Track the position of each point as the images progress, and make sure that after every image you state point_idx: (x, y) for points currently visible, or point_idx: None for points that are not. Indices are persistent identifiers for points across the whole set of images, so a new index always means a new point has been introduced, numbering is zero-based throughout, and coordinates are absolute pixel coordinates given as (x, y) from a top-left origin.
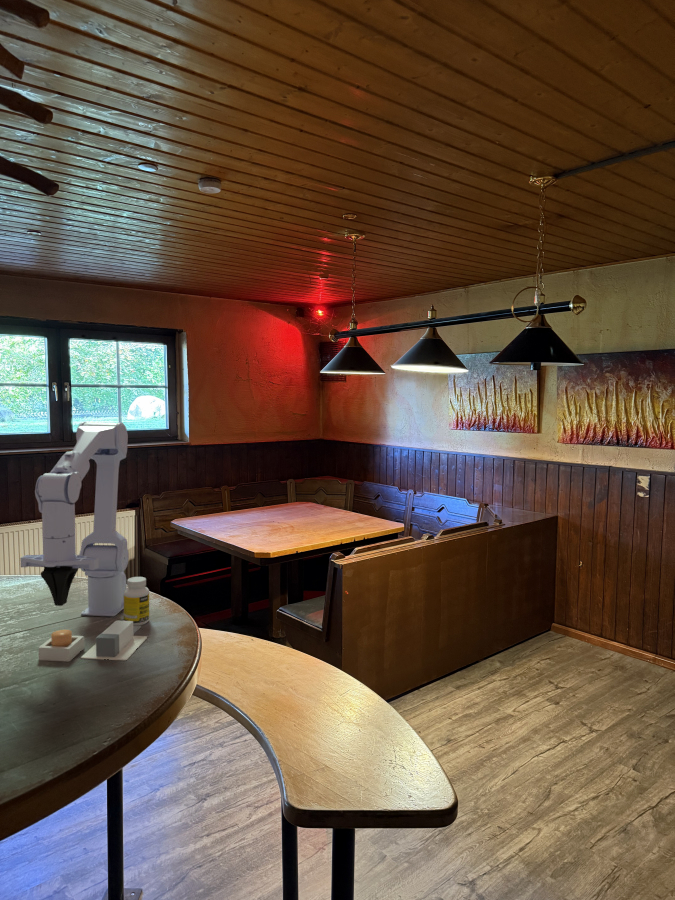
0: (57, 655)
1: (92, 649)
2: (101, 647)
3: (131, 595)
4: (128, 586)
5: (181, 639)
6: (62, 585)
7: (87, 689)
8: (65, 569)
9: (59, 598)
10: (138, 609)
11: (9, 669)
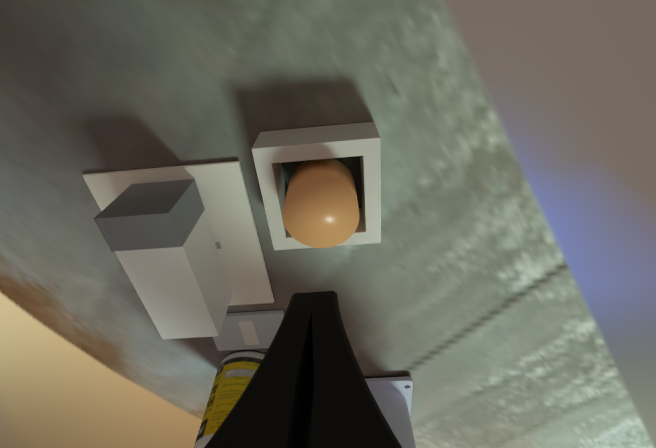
0: (302, 134)
1: (242, 218)
2: (162, 195)
3: None
4: None
5: (61, 311)
6: (225, 431)
7: None
8: None
9: (291, 327)
10: (216, 396)
11: (444, 22)
